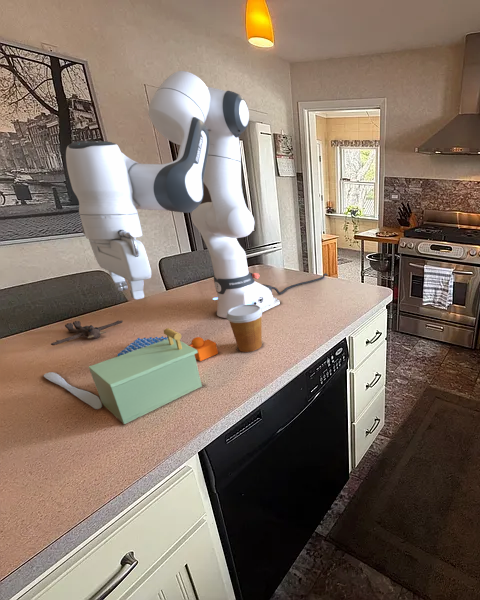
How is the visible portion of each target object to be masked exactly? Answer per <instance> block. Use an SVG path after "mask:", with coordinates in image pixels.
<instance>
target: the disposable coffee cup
mask: <svg viewBox="0 0 480 600" xmlns="http://www.w3.org/2000/svg"><path fill="white" fill-rule="evenodd" d="M263 313H264V312H263V311H262V310H261V308H260V306H258V305H254V304H246V305H239V306H236V307H233V308H231V309H229V310H228V312H227V316H226V318H225V319H227V321H228V322H229V325H230V328H231V331H232V334H233V336H234V339H235V342H236V345H237V348H238V350H239V352H243V353H250V352H254V351H256V350H259V349H260V348H262V345H263V342H262V340H263V337H262V336H263V334H262V332H263V329H262V327H263V326H262V316H263Z"/></svg>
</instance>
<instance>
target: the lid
mask: <svg viewBox="0 0 480 600" xmlns="http://www.w3.org/2000/svg"><path fill="white" fill-rule="evenodd" d="M163 334H164V335H165V336H166V338H167V337H168V339H166V340H163V341H160V342H157V343H155V344H152V345H149V346H146V347H143V348H140V349H137V350H135V351H132V352H129V353H126V354H123V355H120V356H117V355H116V356H114V357H111V358H109V359H106V360H103V361H101V362H98V363H95V364H92V365H89V366H88V370H89V371H90V370H91V371H92V372H93V373H94V374H95V375H96V376H98V377H99V378H100V379H101V380H102V381H103V382H105V383H106V384H107V385H108V386H109V387H110V388H113V387H115V386H118V385H120V384H123V383H125V382H128V381H130V380H132V379H135V378H137V377H140V376H142V375H145V374H147V373H150V372H152V371H155V370H157V369H159V368H162V367H164V366H167V365H169V364H172V363H174V362H177V361H179V360H182V359H184V358H186V357H189V356H191V355H194V354H196V353H198V351H197V350H196V349H194V348H193V347H191V346H189V345H190V344H187V343H185V342H184V341H181V339H182V334H181V333H180V332H178V331H175V330H173V329H171V328H169V327H167V328H165V329H163Z"/></svg>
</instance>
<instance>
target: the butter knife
mask: <svg viewBox="0 0 480 600" xmlns="http://www.w3.org/2000/svg"><path fill="white" fill-rule="evenodd" d="M43 377H44V378H45V379H46V380H48V381H50V382H52V383H54V384H56V385H58V386H60V387H62V388H64V389H65V390H66V391H68V392H70V393H71V394H72V395H73V396H75V397H77V399H79V400H81V401H82V402H84V403H85V404H87V405H89V406H90V407H92V408H93V409H95V410H101V408H103V404H102V401H101V399H100V396H99V395H98V396H97V395H96V394H94V393H92V392H90V391H87V390H84V389H80V388H78V387H75V386H73V385H71V384H69V383H68V382H67V381H66V380H65V379H64V378H63V377H62V376H61V375H60V374H58V373H57V372H54V371H49V372H46V373H44V374H43Z"/></svg>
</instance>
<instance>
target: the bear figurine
mask: <svg viewBox="0 0 480 600" xmlns="http://www.w3.org/2000/svg"><path fill="white" fill-rule="evenodd" d="M123 322H124V321H123V320H119V319H118V320H116V321H114V322H111V323H108V324H105V325H102V326H96V327H95V326H94V325H92V324H90V325H84V326H82V325H81V321H80V320H75V321H73V322H68V323H65V325H64V327H65V328H66V329H67V331H68V333H69V332H70V333H75V334H73V335H70V336H68V337H65V338H62V339H56V340H55V341H53V342H51V343H50V345H51V346H56V345H60V344H63V343H67V342H70V341H72V340H75V339H79V338H81V337H86V339H93V340H94V339H98V338H100V337H101V335H103V334H106V333H107V332H106V330H105V329H108V328H112V327H113V326H114V327H115V326H118V325H121V324H122V323H123ZM103 330H105V331H103Z"/></svg>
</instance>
